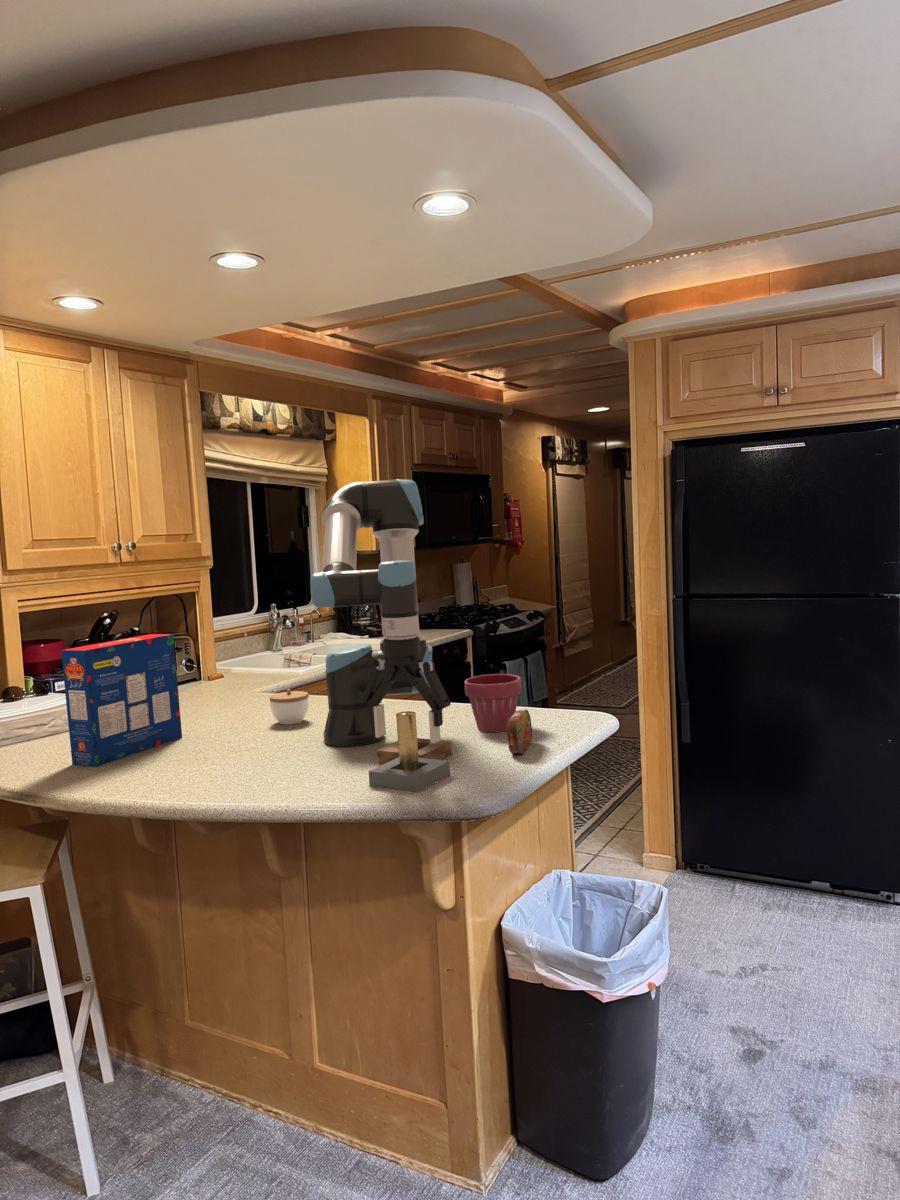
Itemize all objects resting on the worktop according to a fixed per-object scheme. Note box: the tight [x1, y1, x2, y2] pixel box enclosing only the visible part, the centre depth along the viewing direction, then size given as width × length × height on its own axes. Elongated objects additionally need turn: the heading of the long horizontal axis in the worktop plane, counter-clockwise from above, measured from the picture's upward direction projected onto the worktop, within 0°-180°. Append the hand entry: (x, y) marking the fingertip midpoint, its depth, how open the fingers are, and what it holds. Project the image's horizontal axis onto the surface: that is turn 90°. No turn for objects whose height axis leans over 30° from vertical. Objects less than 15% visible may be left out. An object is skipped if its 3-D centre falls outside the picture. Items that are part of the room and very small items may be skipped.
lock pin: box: [395, 710, 419, 771], centre depth 170 cm, size 4×4×14 cm
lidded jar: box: [269, 688, 310, 726], centre depth 232 cm, size 11×11×9 cm
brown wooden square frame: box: [376, 737, 453, 765], centre depth 187 cm, size 12×12×3 cm
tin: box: [506, 709, 533, 755], centre depth 189 cm, size 15×3×8 cm, turn 163°
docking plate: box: [368, 757, 451, 793], centre depth 170 cm, size 12×12×3 cm
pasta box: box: [60, 633, 183, 768], centre depth 209 cm, size 28×8×28 cm, turn 154°
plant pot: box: [464, 673, 522, 733], centre depth 210 cm, size 14×14×13 cm
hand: (407, 739), depth 170 cm, fingers open, 13 cm apart
